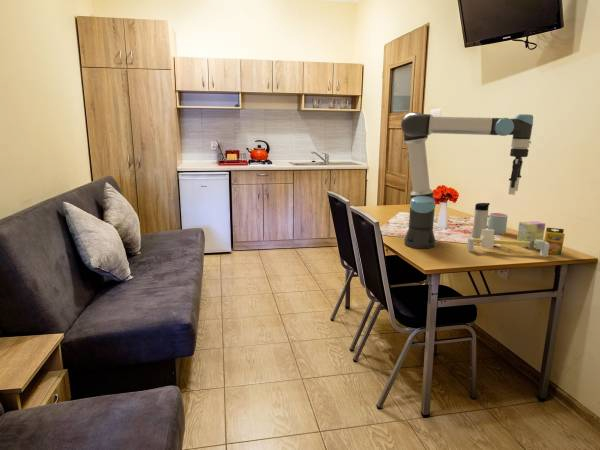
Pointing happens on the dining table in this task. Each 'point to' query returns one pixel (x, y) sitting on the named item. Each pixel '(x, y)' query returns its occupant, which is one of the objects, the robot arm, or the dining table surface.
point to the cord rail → (537, 244)
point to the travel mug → (480, 219)
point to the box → (530, 231)
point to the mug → (497, 223)
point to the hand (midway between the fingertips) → (513, 192)
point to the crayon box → (554, 240)
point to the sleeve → (487, 238)
